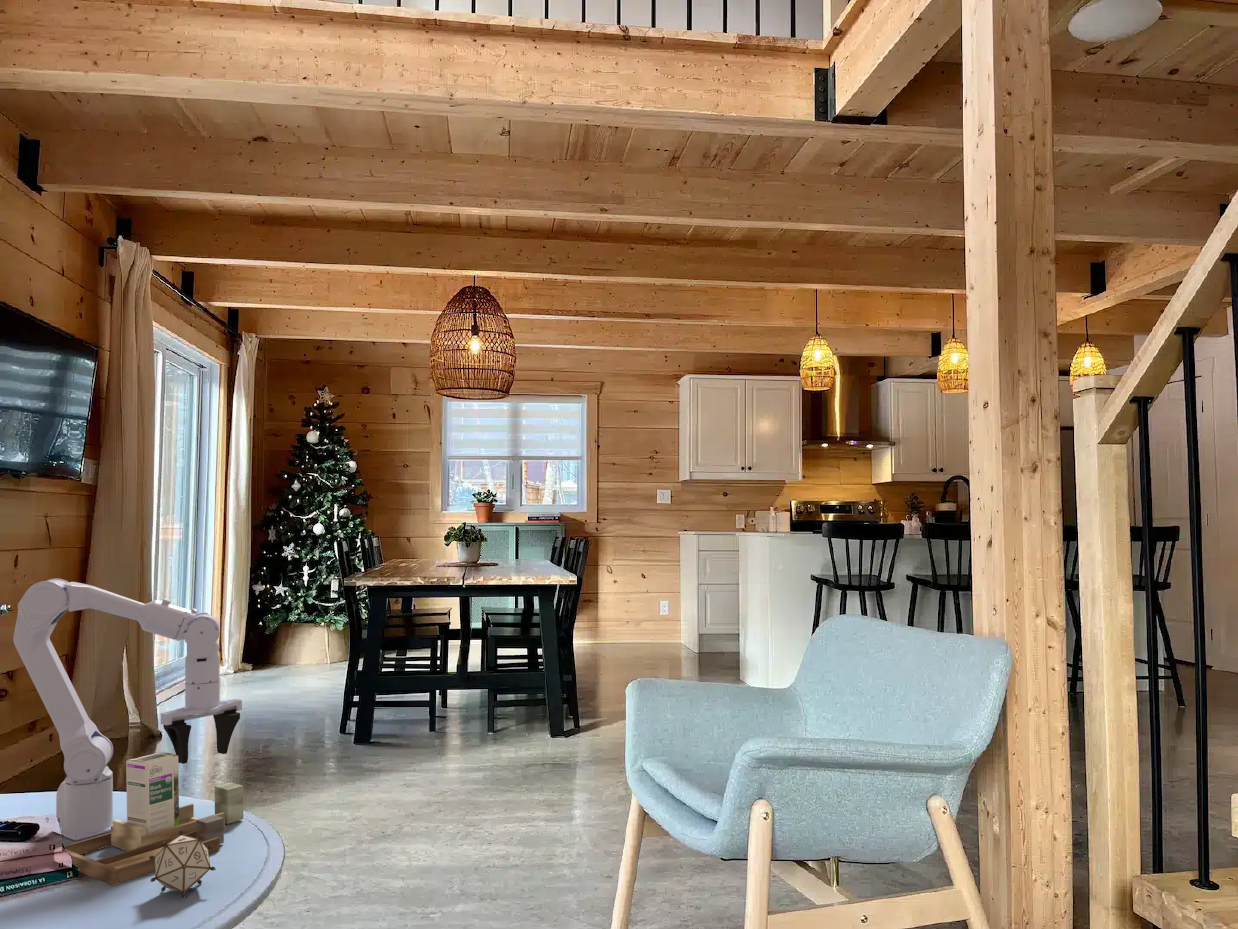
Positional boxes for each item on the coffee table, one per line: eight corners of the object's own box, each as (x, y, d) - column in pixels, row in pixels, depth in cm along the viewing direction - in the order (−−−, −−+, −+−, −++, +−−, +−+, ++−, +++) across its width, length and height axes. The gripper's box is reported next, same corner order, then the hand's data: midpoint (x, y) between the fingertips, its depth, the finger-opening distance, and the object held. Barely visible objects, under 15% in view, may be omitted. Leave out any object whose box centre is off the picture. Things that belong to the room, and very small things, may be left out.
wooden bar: (105, 871, 143) (105, 844, 143) (210, 838, 157) (210, 814, 157) (121, 878, 140) (121, 850, 140) (226, 843, 154) (226, 818, 154)
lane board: (53, 861, 149) (53, 848, 149) (158, 830, 162) (158, 819, 163) (113, 885, 138) (113, 871, 138) (219, 850, 152) (219, 838, 152)
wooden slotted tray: (110, 844, 155) (110, 808, 155) (220, 812, 171) (220, 780, 171) (143, 856, 149) (143, 819, 149) (253, 822, 165) (253, 788, 165)
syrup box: (147, 854, 151) (147, 762, 152) (125, 849, 154) (125, 758, 155) (180, 843, 156) (180, 754, 156) (158, 838, 159) (158, 750, 159)
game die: (175, 914, 136) (172, 846, 142) (229, 892, 136) (225, 824, 142) (135, 905, 129) (134, 833, 135) (192, 882, 129) (189, 811, 135)
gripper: (175, 690, 163) (176, 770, 162) (251, 677, 175) (251, 751, 174) (154, 686, 167) (154, 765, 166) (229, 674, 179) (229, 747, 178)
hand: (202, 758), depth 170 cm, fingers open, 7 cm apart
